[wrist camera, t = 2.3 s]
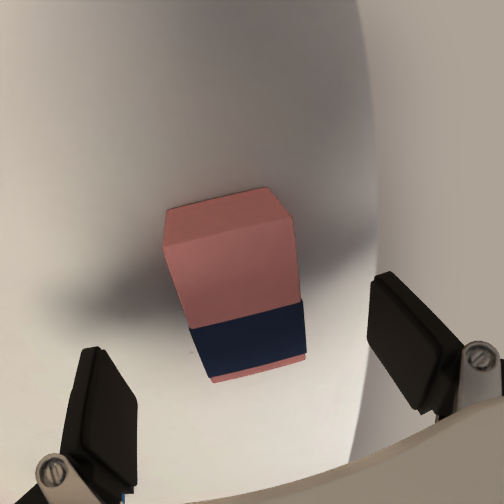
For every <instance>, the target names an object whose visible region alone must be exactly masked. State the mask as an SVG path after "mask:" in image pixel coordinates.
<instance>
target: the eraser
mask: <svg viewBox="0 0 504 504" xmlns="http://www.w3.org/2000/svg"><path fill="white" fill-rule="evenodd" d="M162 250H163V253H164V256H165V259H166V262H167V265H168V268H169V271H170V273H171V276H172V279H173V282H174V285H175V288H176V291H177V293H178V296H179V299H180V302H181V305H182V307H183V310H184V313H185V315H186V318H187V321H188V323H189V331H190V333H191V336H192V338H193V341H194V343H195V346H196V348H197V351H198V353H199V356H200V358H201V361H202V363H203V366H204V368H205V370H206V373H207V375H208V377H209V378H211V381H212V382H213V383H218V382H222V381H226V380H231V379H235V378H239V377H243V376H247V375H251V374H255V373H259V372H263V371H267V370H271V369H274V368H278V367H282V366H285V365H289V364H292V363H296V362H299V361H303V360H305V358H306V357H305V353H307V348H306V334H305V321H304V308H303V301H302V299H301V295H300V284H299V273H298V263H297V254H296V244H295V235H294V226H293V218H292V217H291V215H290V214H289V213H288V212H287V210H286V209H285V208H284V207H283V206H282V204H281V203H280V202H279V201H278V199H277V198H276V197H275V196H274V195H273V193H272V192H271V191H270V190H269V189H268V187H264V188H260V189H255V190H250V191H246V192H241V193H237V194H232V195H228V196H224V197H219V198H215V199H211V200H206V201H202V202H198V203H194V204H190V205H186V206H182V207H178V208H174V209H170V210H167V212H166V221H165V229H164V239H163V249H162Z"/></svg>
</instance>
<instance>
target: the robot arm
mask: <svg viewBox="0 0 504 504" xmlns="http://www.w3.org/2000/svg"><path fill="white" fill-rule="evenodd" d="M367 341H368V343H369V345H370V347H371V348H372V350H373V351H374V352H375V354H376V355H377V357H378V358H379V360H380V361H381V363H382V364H383V366H384V367H385V369H386V370H387V371H388V373H389V375H390V376H391V377H392V379H393V380H394V382H395V383H396V385H397V386H398V388H399V389H400V391H401V392H402V394H403V395H404V397H405V398H406V400H407V401H408V403H409V404H410V406H411V407H412V409H414V410H418V411H419V413H420V414H421V415H422V414H425V413H427V412H428V411H430V410H433V411H434V413H435V414H436V419H435V424H433V425H431V426H429V427H428V428H426V429H424V430H422V431H420V432H418V433H416V434H414V435H412V436H410V437H408V438H405V439H403V440H401V441H399V442H397V443H395V444H393V445H391V446H389V447H387V448H384V449H382V450H380V451H377V452H375V453H373V454H370V455H368V456H366V457H363V458H361V459H358V460H356V461H353V462H350V463H348V464H345V465H342V466H340V467H337V468H334V469H331V470H328V471H326V472H323V473H320V474H317V475H314V476H310V477H307V478H304V479H301V480H297V481H294V482H290V483H287V484H283V485H279V486H276V487H272V488H268V489H264V490H259V491H255V492H250V493H246V494H241V495H236V496H231V497H225V498H220V499H214V500H207V501H201V502H193V503H185V504H504V359H500V356H499V353H498V351H497V350H496V348H494V347H493V346H492V345H491V344H489V343H487V342H483V341H474V342H470V343H468V344H467V345H465V346H464V345H463V344H462V343H461V342H460V341H459V340H458V338H457V337H456V336H455V335H454V334H453V333H452V332H451V331H450V330H449V329H448V328H447V327H446V326H445V325H444V324H443V322H442V321H441V320H440V319H439V318H438V317H437V316H436V315H435V314H434V313H433V312H432V311H431V310H430V309H429V308H428V307H427V306H426V305H425V304H424V303H423V302H422V301H421V300H420V299H419V298H418V297H417V296H416V295H415V294H414V293H413V292H412V291H411V290H410V289H409V288H408V287H407V286H406V285H405V284H404V283H403V282H402V281H401V280H400V279H399V278H398V277H397V276H395V274H393V273H392V272H391V271H389V272H386V273H382V274H380V275H376V276H375V278H374V281H372V282H371V285H370V302H369V315H368V327H367ZM137 410H138V404H137V399H136V397H135V395H134V394H133V392H132V391H131V389H130V388H129V386H128V385H127V383H126V382H125V380H124V379H123V377H122V376H121V374H120V373H119V371H118V370H117V368H116V366H115V365H114V363H113V362H112V360H111V358H110V357H109V355H108V353H107V352H106V350H101V348H100V347H98V346H96V347H91V348H85V349H83V350H82V352H81V356H80V360H79V364H78V368H77V372H76V376H75V380H74V385H73V389H72V391H71V394H70V398H69V403H68V408H67V413H66V418H65V424H64V429H63V435H62V441H61V447H60V454H57V453H52V454H48V455H47V456H45V457H43V458H42V459H41V460H40V461H39V463H38V465H37V467H36V472H35V475H36V481H37V484H36V485H35V486H34V487H33V488H31V489H30V490H29V491H28V492H27V493H26V494H25V495H24V496H23V497H21V498H20V499H19V500H18V501H17V502H16V503H15V504H124V503H123V502H122V494H134V486H136V485H137Z"/></svg>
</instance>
